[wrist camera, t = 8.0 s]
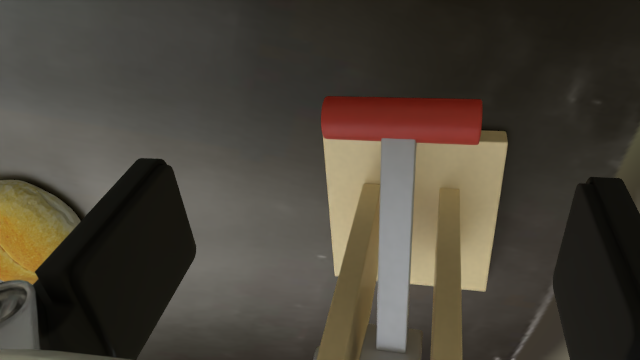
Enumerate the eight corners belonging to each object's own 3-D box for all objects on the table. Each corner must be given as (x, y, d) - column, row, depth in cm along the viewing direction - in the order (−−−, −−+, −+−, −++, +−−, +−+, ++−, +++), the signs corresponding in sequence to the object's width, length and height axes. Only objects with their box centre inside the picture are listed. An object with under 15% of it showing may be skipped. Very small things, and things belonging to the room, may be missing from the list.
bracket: (327, 124, 26) (245, 308, 16) (506, 130, 24) (544, 345, 14) (338, 263, 32) (282, 466, 22) (484, 277, 30) (500, 508, 19)
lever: (332, 91, 18) (316, 101, 15) (479, 94, 16) (485, 105, 14) (334, 375, 21) (321, 416, 19) (454, 392, 20) (455, 439, 18)
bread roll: (114, 252, 36) (82, 292, 33) (34, 271, 40) (-3, 309, 36) (40, 159, 32) (-5, 195, 29) (-41, 190, 36) (-90, 224, 33)
